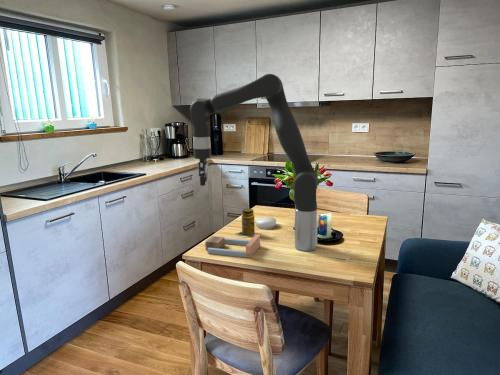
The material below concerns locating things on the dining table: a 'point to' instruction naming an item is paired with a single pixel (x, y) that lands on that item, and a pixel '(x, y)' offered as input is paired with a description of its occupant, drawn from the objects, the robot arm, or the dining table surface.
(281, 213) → the dining table surface
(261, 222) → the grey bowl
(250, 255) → the guide track
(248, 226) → the condiment
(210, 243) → the block
